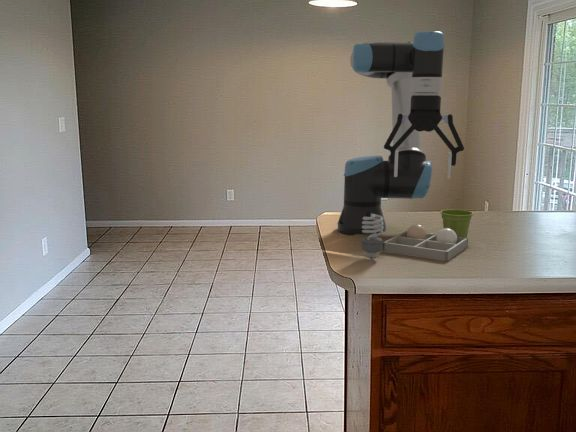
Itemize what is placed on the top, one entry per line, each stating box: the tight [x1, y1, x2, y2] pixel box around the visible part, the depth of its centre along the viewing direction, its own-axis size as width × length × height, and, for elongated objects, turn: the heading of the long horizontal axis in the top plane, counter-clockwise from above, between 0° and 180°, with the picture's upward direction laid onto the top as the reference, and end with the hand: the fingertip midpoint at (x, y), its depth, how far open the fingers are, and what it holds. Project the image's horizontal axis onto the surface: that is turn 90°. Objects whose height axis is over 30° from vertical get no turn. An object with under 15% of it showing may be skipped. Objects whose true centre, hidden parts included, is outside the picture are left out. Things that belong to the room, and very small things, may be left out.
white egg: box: [436, 227, 457, 244], centre depth 165 cm, size 6×6×6 cm
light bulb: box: [361, 214, 384, 260], centre depth 155 cm, size 6×6×12 cm
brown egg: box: [406, 224, 428, 240], centre depth 170 cm, size 6×6×6 cm
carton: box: [381, 229, 469, 262], centre depth 164 cm, size 18×18×3 cm
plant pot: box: [439, 209, 474, 238], centre depth 176 cm, size 9×9×9 cm
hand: (421, 177), depth 157 cm, fingers open, 13 cm apart
